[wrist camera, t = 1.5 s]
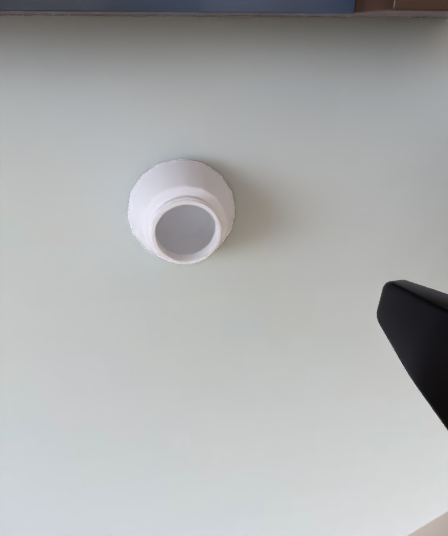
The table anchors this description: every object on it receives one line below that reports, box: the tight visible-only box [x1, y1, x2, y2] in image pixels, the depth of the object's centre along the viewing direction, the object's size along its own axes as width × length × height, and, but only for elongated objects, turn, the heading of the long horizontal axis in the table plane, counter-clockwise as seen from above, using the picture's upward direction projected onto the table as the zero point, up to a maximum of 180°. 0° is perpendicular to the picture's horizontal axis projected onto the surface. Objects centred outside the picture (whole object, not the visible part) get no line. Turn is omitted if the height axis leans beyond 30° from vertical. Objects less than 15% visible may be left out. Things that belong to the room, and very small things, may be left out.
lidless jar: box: [127, 158, 236, 265], centre depth 19 cm, size 5×3×5 cm
